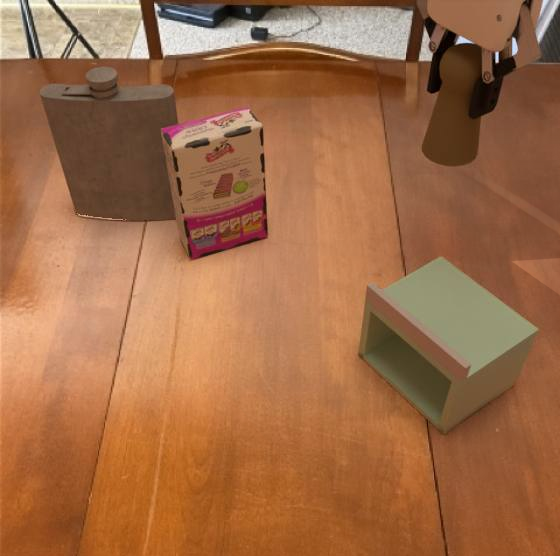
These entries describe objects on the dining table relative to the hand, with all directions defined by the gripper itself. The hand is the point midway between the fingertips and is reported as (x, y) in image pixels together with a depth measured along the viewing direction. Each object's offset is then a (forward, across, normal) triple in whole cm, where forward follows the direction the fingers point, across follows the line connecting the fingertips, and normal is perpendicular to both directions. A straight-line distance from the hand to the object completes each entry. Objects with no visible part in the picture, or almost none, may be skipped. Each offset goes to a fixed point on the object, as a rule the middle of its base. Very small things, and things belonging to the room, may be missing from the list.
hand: (460, 99), depth 69 cm
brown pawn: (+6, 0, 0) cm, 6 cm away
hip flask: (+22, +31, +26) cm, 46 cm away
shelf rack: (+22, -14, +11) cm, 28 cm away
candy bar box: (+22, +19, +18) cm, 35 cm away
